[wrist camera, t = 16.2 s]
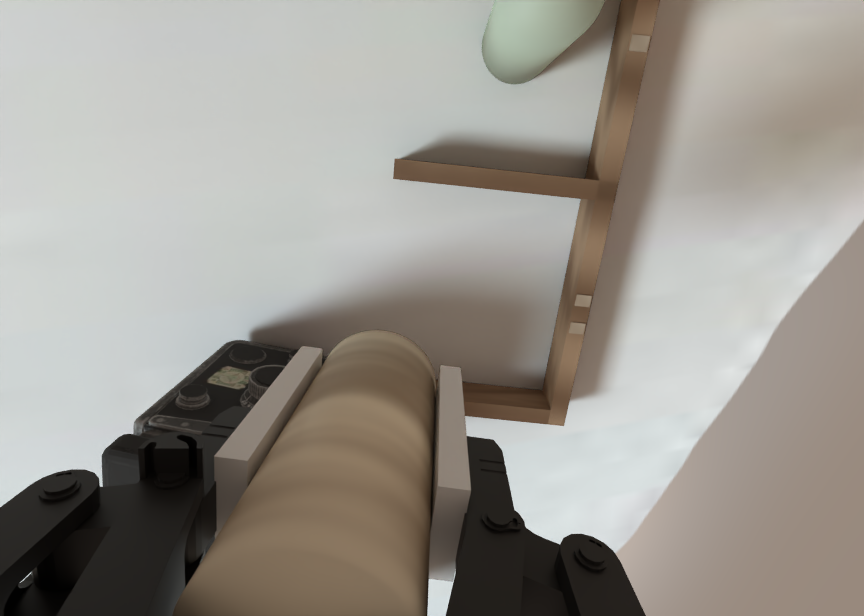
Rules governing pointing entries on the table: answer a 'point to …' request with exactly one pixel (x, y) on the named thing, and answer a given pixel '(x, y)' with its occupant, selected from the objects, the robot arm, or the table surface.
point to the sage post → (533, 34)
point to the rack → (589, 228)
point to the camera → (199, 402)
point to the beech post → (335, 498)
